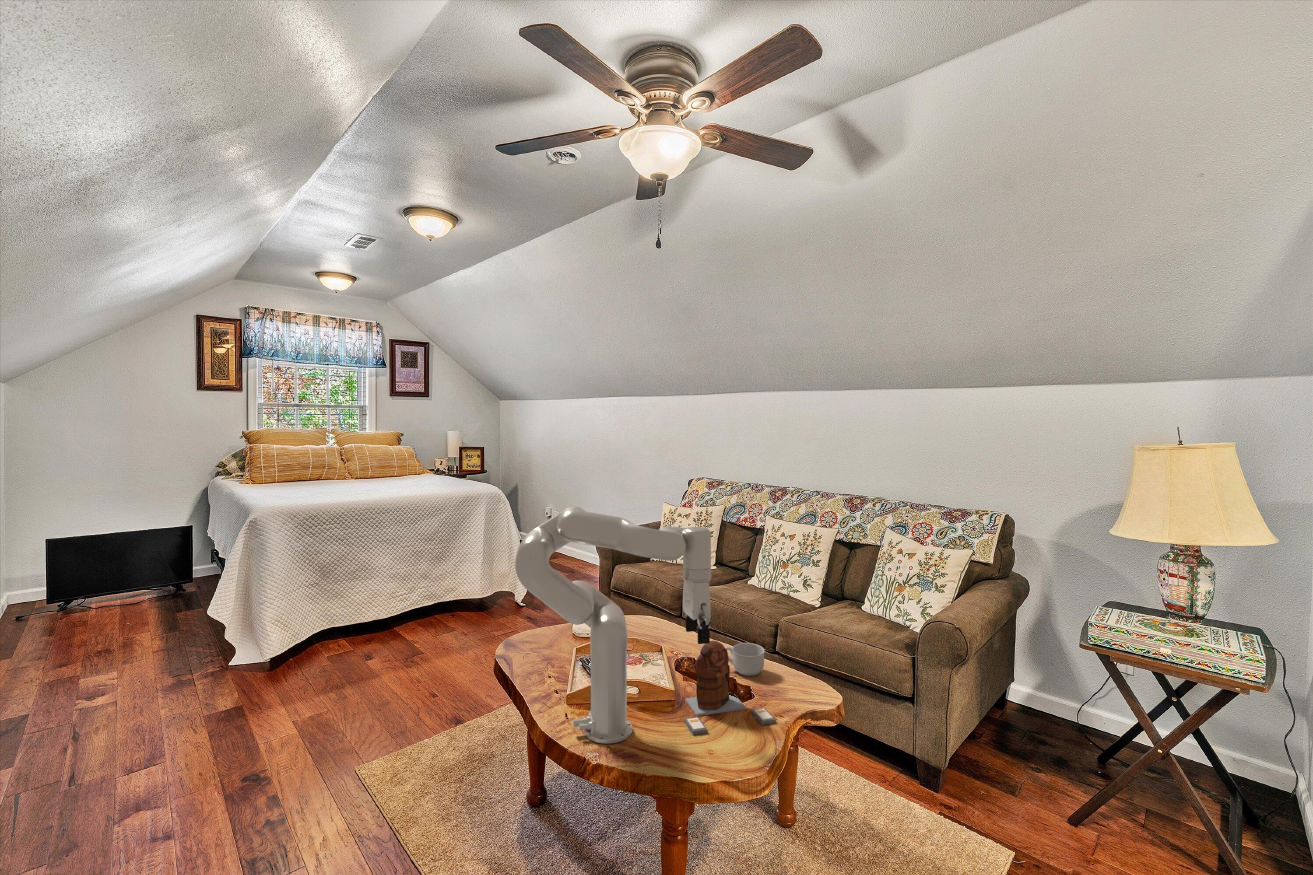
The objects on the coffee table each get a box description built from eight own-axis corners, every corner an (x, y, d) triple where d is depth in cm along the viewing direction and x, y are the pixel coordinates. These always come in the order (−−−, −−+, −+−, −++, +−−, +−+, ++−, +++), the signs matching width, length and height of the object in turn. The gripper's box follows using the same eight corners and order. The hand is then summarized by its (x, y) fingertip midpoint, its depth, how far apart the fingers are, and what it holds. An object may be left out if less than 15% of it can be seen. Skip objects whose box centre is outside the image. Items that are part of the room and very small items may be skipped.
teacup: (769, 670, 194) (769, 646, 194) (756, 681, 185) (756, 656, 185) (731, 661, 202) (731, 638, 202) (717, 672, 193) (717, 648, 193)
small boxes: (692, 734, 152) (692, 730, 152) (684, 722, 159) (684, 717, 159) (775, 722, 159) (775, 718, 159) (764, 711, 165) (764, 706, 165)
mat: (696, 715, 162) (696, 713, 162) (685, 700, 172) (685, 698, 172) (746, 709, 166) (746, 707, 166) (732, 694, 176) (732, 692, 176)
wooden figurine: (712, 714, 162) (712, 650, 162) (693, 707, 166) (693, 644, 166) (733, 699, 172) (734, 638, 172) (715, 693, 176) (715, 633, 175)
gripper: (674, 567, 163) (674, 628, 163) (694, 582, 147) (694, 649, 147) (699, 565, 165) (699, 625, 165) (722, 580, 149) (722, 646, 149)
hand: (697, 636), depth 156 cm, fingers open, 9 cm apart
